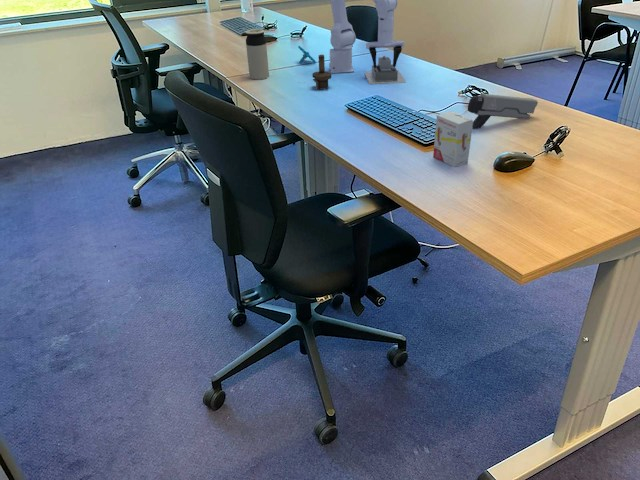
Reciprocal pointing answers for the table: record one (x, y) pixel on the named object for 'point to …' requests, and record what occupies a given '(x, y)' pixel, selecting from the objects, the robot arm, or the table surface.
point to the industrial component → (321, 75)
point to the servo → (384, 64)
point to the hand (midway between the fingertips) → (384, 66)
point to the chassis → (384, 76)
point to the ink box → (452, 138)
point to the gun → (499, 107)
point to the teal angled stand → (305, 55)
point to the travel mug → (257, 54)
